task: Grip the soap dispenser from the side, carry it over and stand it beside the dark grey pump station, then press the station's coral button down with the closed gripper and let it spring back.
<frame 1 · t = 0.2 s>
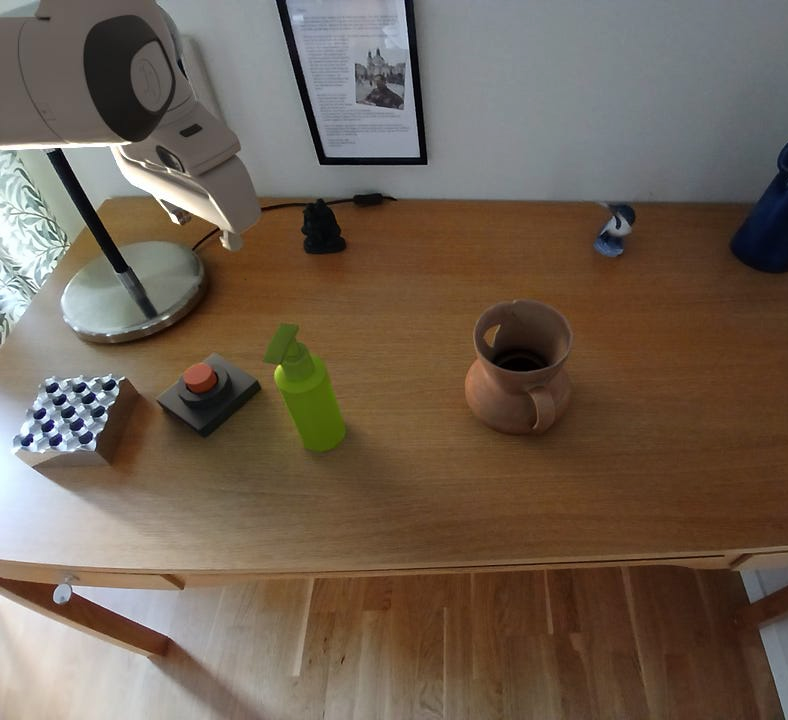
hand: (208, 234, 68), 21 cm above the table, tool pointing down, fingers open, 8 cm apart
ceramic jug: (517, 404, 78), on the table
pump station: (212, 398, 78), on the table
button: (200, 378, 74), point 5 cm above the table, slide at 0.1 cm
soap dispenser: (322, 436, 74), on the table
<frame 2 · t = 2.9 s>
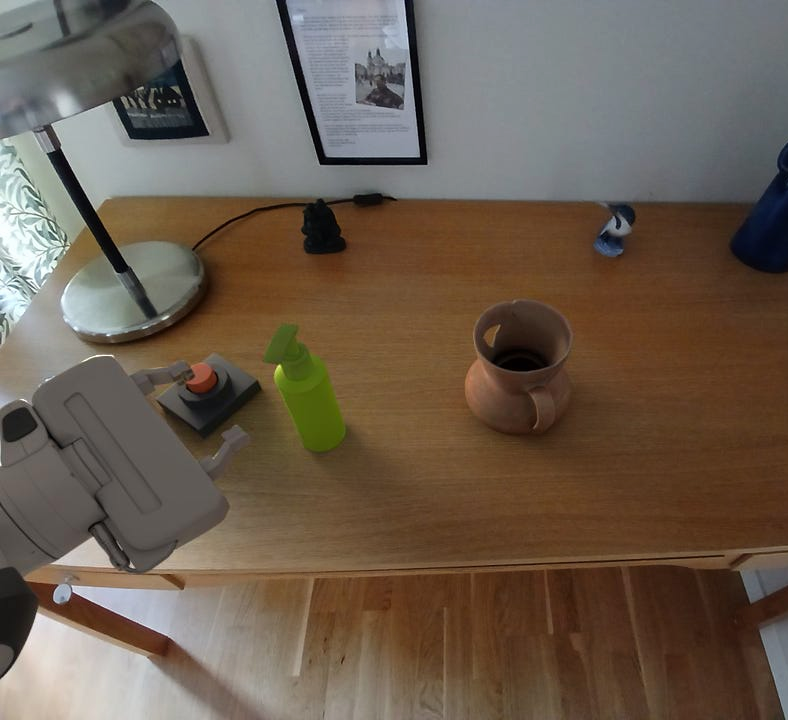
hand: (216, 399, 53), 20 cm above the table, tool horizontal, fingers open, 8 cm apart
nothing on the table moved.
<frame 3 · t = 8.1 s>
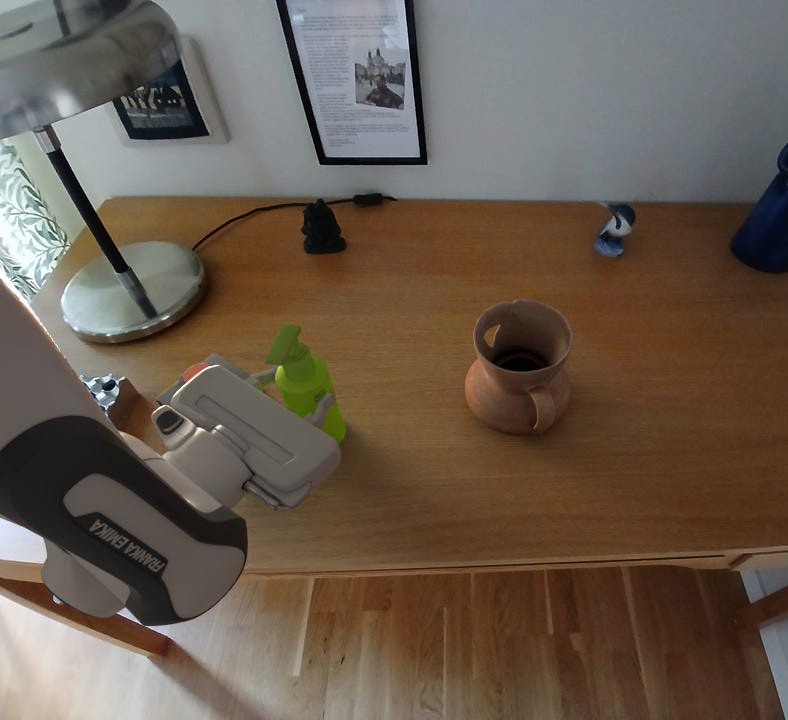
hand: (307, 380, 66), 11 cm above the table, tool horizontal, fingers closed on soap dispenser, 6 cm apart
soap dispenser: (322, 436, 74), on the table, touching gripper
everything else where it was.
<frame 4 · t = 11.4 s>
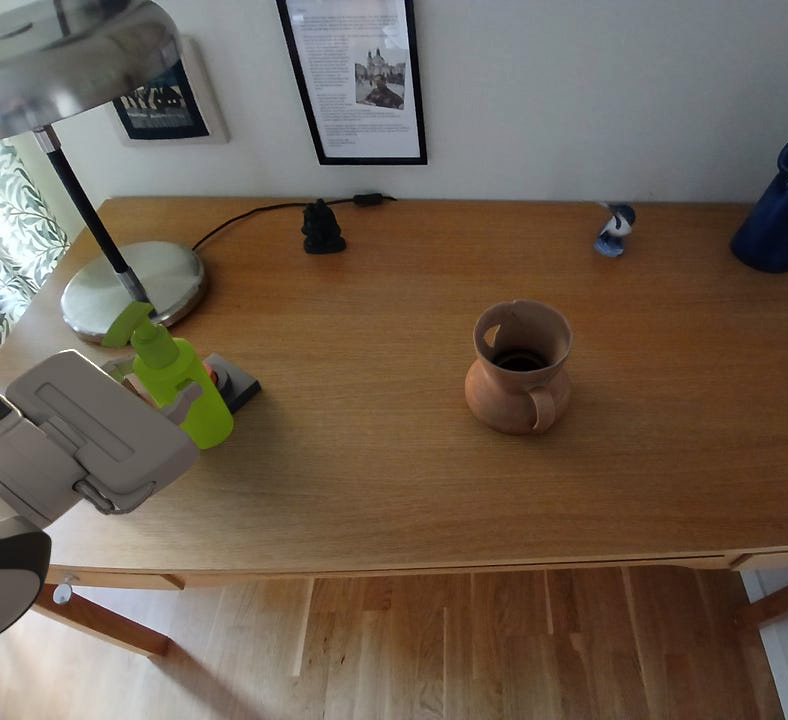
hand: (174, 368, 59), 18 cm above the table, tool horizontal, fingers closed on soap dispenser, 6 cm apart
soap dispenser: (206, 432, 67), point 7 cm above the table, touching gripper
everything else where it was.
when the fingers open (11 cm above the table, at t = 14.7 s): soap dispenser stays where it is, on the table.
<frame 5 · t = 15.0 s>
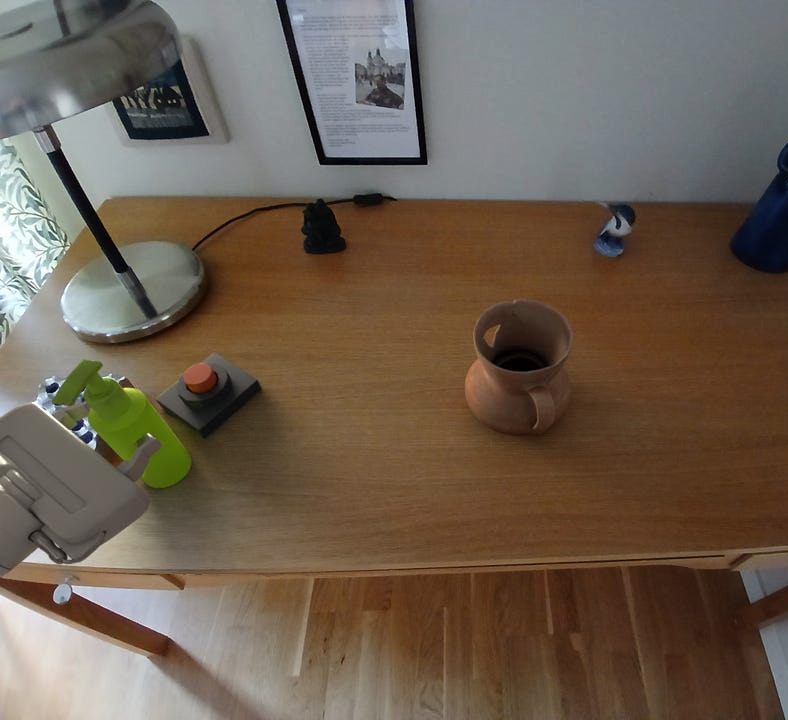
hand: (129, 418, 63), 11 cm above the table, tool horizontal, fingers open, 8 cm apart
soap dispenser: (165, 471, 71), on the table
everything else where it was.
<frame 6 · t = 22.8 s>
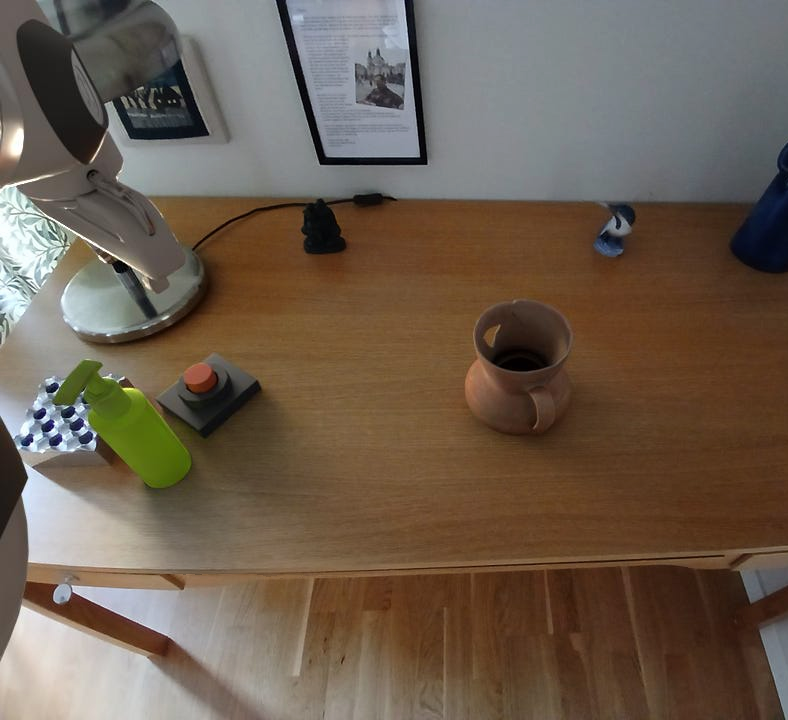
hand: (135, 273, 60), 23 cm above the table, tool pointing down, fingers open, 7 cm apart
nothing on the table moved.
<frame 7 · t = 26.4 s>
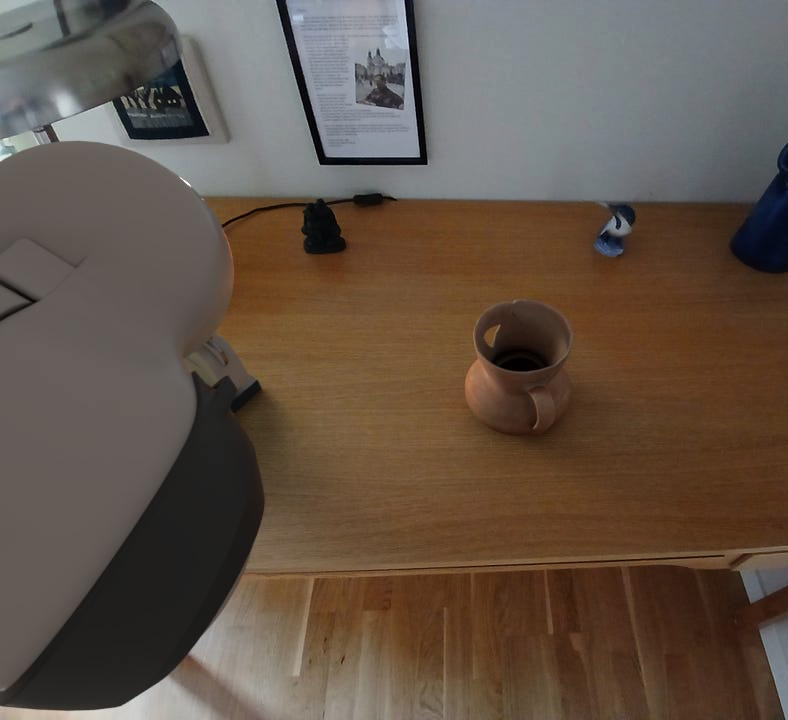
hand: (201, 377, 74), 5 cm above the table, tool pointing down, fingers closed, pressing on button
button: (203, 382, 75), point 4 cm above the table, slide at -0.9 cm, touching gripper
everything else where it was.
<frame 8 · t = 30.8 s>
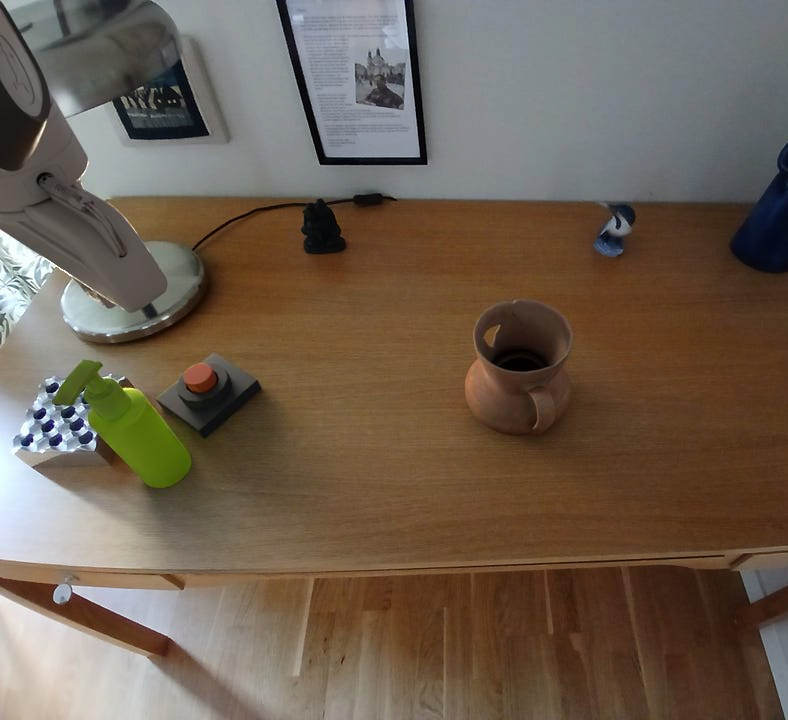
hand: (107, 298, 49), 29 cm above the table, tool pointing down, fingers closed
button: (200, 378, 74), point 5 cm above the table, slide at 0.1 cm
everything else where it was.
at the end: button pushed in 1.1 cm at the most during the clip, back to where it started at the end; soap dispenser inside the target area (0.1 cm from its centre), on the table; soap dispenser tilted 0° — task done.
